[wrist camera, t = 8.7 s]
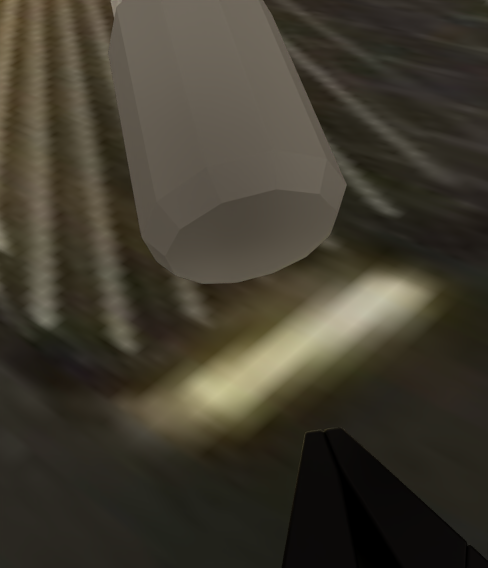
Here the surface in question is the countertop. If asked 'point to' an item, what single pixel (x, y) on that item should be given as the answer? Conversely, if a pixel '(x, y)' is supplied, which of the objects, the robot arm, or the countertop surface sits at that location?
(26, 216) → the countertop surface
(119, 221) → the countertop surface
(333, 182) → the jar
